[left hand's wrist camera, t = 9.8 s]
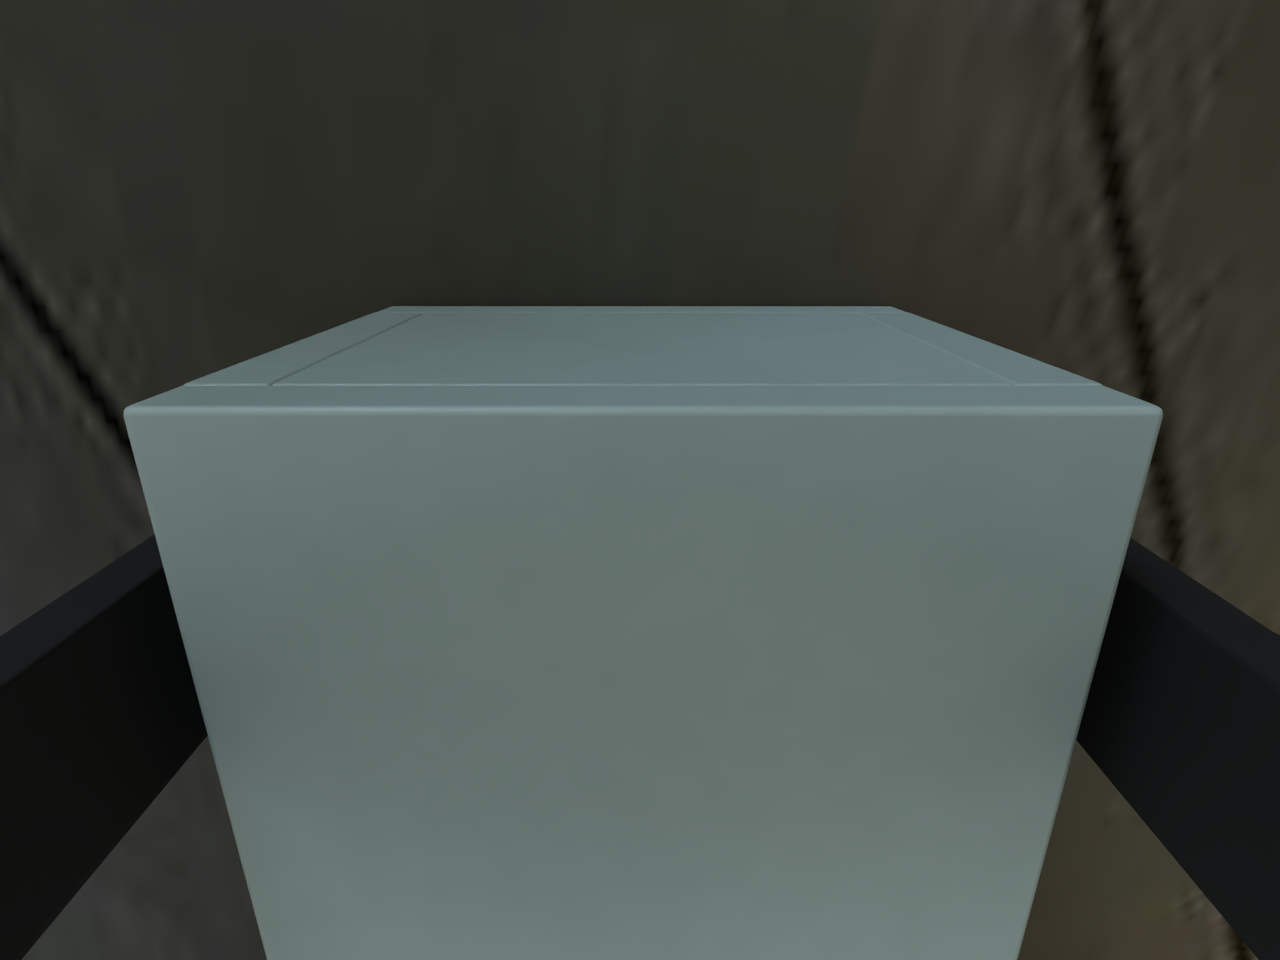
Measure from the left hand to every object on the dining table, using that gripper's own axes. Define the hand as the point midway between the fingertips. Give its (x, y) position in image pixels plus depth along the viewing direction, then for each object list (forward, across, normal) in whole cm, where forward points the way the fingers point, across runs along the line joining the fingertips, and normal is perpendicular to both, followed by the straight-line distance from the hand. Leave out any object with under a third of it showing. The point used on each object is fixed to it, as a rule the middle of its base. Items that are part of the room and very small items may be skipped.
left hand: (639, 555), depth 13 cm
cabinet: (+4, 0, -6) cm, 8 cm away
